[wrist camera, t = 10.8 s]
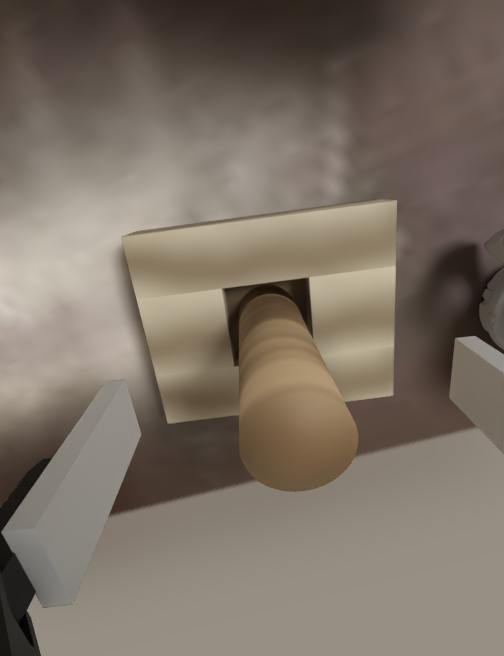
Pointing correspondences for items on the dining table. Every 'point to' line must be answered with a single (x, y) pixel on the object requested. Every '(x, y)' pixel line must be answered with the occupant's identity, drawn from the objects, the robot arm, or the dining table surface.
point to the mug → (494, 294)
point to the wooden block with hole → (266, 269)
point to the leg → (288, 398)
